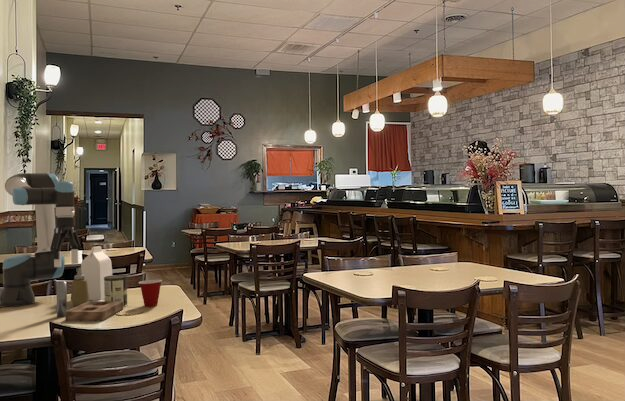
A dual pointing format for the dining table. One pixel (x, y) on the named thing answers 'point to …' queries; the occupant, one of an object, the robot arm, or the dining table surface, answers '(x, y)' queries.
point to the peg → (61, 298)
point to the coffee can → (116, 288)
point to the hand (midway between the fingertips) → (66, 265)
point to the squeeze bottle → (79, 289)
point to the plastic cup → (150, 292)
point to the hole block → (94, 311)
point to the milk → (96, 272)
